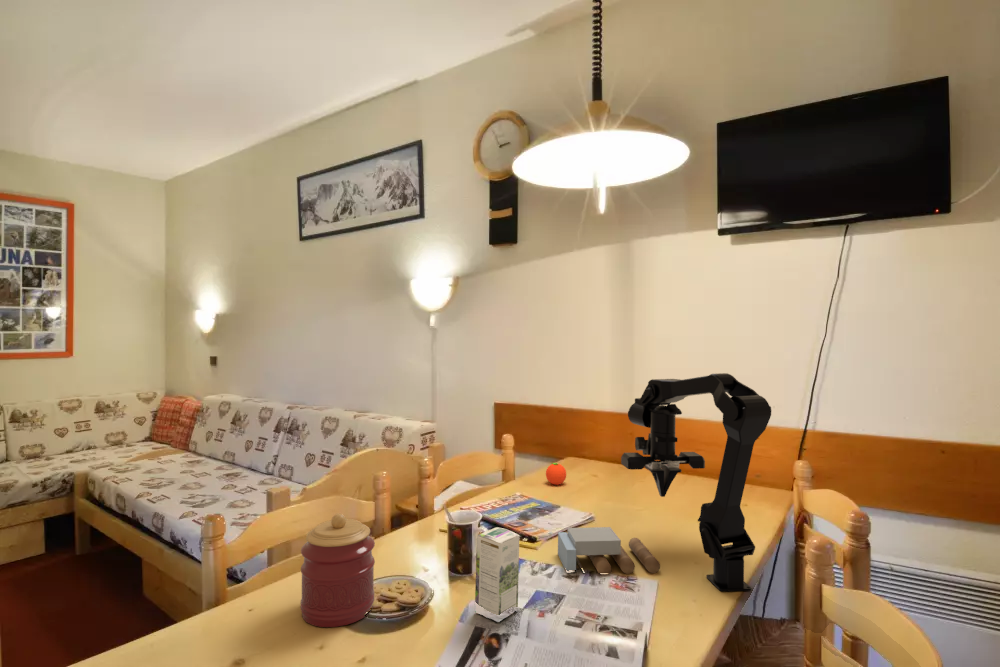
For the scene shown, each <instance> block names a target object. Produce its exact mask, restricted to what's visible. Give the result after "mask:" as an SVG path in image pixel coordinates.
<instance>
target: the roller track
mask: <svg viewBox="0 0 1000 667" xmlns="http://www.w3.org/2000/svg"><path fill="white" fill-rule="evenodd" d="M628 547H629V549H630V550H631V551H632V553H633V554H634V555H635V557H636V558H637V559H638V560H639V561H640V562H641V564H642V565H643V567H644V569H646V570H647V571H648V573H650V574H655V573H658V571H660V569H661V568H660V567H661V563H660V561H659V560H658V559H657V558H656V557H655V555H653V553H652V552H651V551H650V550H649V549H648V547H646V546H645V544H644V543H643V542H642V541H641V539H639V538H638V537H631V539H629V541H628ZM611 557H612V558H613V560H614V561H615V563H616V564H617V565H618V567H619V568H620V570H621V571H622V572H623V574H627V575H629V574H632V573H633V572H634V571H635V568H636V564H635V562H634V561H633V559H631V557H630V556H629V554H628V553H627V552H626V551H625V549H624V548H623V546H621V554H615V555H611ZM577 563H578V564H577ZM576 564H577V565H578V567H579V569H580V568H583V569H584V567H583V564H582V563H581V561H580V560H579V558H578V555H577V556H576ZM609 574H612V570H611V571H610V573H609Z"/></svg>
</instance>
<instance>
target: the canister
mask: <svg viewBox="0 0 1000 667" xmlns="http://www.w3.org/2000/svg"><path fill="white" fill-rule="evenodd" d="M370 534H371V529H370V527H369V526H367V525H366V524H364V523H362V522H361V521H359V520H357V519H353V518H346V516H345V515H344V514H343V513H336V514H333V516H332V517H331V519H330V520H326V521H323V522H321V523H319V524H317V525H316V526H315V527H314V528H312V529H311V530H309V531H308V532H307V534H306V535H305V540H306V542H305V543H304V544H303V545H302V546H301V549H300V554H301V555H302V557H303V563H302V564H301V567H300V572H301V599H300V611H301V617H302V619H303V620H304V621H305V622H306V623H307V624H308V625H309V624H310V625H312V626H315V627H321V628H337V627H344V626H347V625H351V624H353V623H356V622H358V621H360V620H362V619H364V618H365V617H366V616H364V614H365V613H366V612H367V611H369V610H370V608H371V606H372V604H373V605H374V601H375V589H374V576H375V574H374V570H375V569H374V568H375V567H374V565H375V562H376V561H375V557H374V556H373V553H372V552H373V550H374V547H375V543H376V542H375V540H374V539H373V537H371V536H370Z"/></svg>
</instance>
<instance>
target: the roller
mask: <svg viewBox="0 0 1000 667" xmlns="http://www.w3.org/2000/svg"><path fill="white" fill-rule="evenodd" d="M587 556H588V557H589V559H590V561H591V563H592V565H593V566H594V568H595V569H596V572H597V573H598V574H599V573H609V574H611V573H610V571H611V572H612V566H611V564H610V563H609V561H608V559H607V558H606V555H587Z"/></svg>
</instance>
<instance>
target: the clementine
mask: <svg viewBox="0 0 1000 667" xmlns="http://www.w3.org/2000/svg"><path fill="white" fill-rule="evenodd" d="M545 476H546V479H547V481H548V482H549V483H550V484H551V485H555V486H557V485H561V484H563V483H564V482H565V481H566V478H567V470H566V468H565V467H564V465H562V464H560V463H558V462H554V463H553V462H552V463H551V464H550V465H548V467H547V468H546V470H545Z"/></svg>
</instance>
